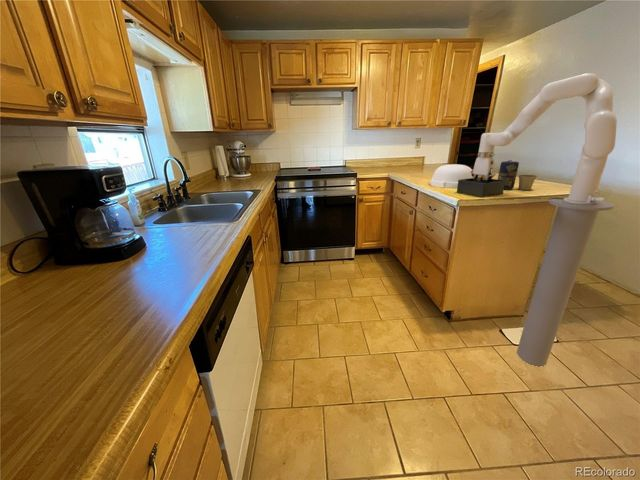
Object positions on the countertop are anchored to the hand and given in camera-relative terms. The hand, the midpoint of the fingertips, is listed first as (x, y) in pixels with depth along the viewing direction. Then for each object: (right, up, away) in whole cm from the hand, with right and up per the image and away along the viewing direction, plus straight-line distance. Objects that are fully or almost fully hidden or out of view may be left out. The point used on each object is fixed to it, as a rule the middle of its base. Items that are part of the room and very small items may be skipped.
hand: (480, 185), depth 161 cm
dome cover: (-1, +8, +33) cm, 34 cm away
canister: (+22, 0, +10) cm, 25 cm away
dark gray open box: (0, -4, +2) cm, 5 cm away
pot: (0, -2, +1) cm, 3 cm away
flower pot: (+32, -1, +6) cm, 32 cm away
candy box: (+32, +15, +49) cm, 60 cm away
